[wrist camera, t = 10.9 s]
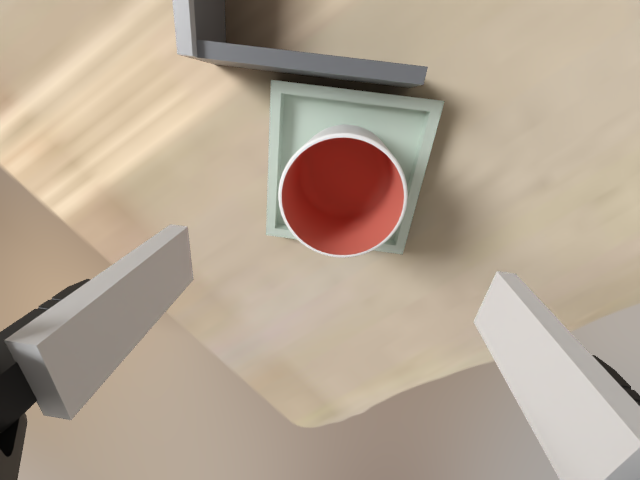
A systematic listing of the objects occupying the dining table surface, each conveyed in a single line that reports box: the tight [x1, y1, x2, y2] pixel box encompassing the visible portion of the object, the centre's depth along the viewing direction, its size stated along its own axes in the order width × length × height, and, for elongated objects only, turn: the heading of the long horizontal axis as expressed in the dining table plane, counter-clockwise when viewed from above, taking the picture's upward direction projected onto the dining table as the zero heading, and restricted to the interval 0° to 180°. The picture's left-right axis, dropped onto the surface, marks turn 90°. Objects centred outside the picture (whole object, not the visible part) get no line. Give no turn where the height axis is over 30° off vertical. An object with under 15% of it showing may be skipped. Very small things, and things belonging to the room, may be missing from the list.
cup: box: [278, 124, 408, 257], centre depth 27 cm, size 10×10×10 cm
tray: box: [266, 80, 444, 254], centre depth 31 cm, size 16×16×2 cm
